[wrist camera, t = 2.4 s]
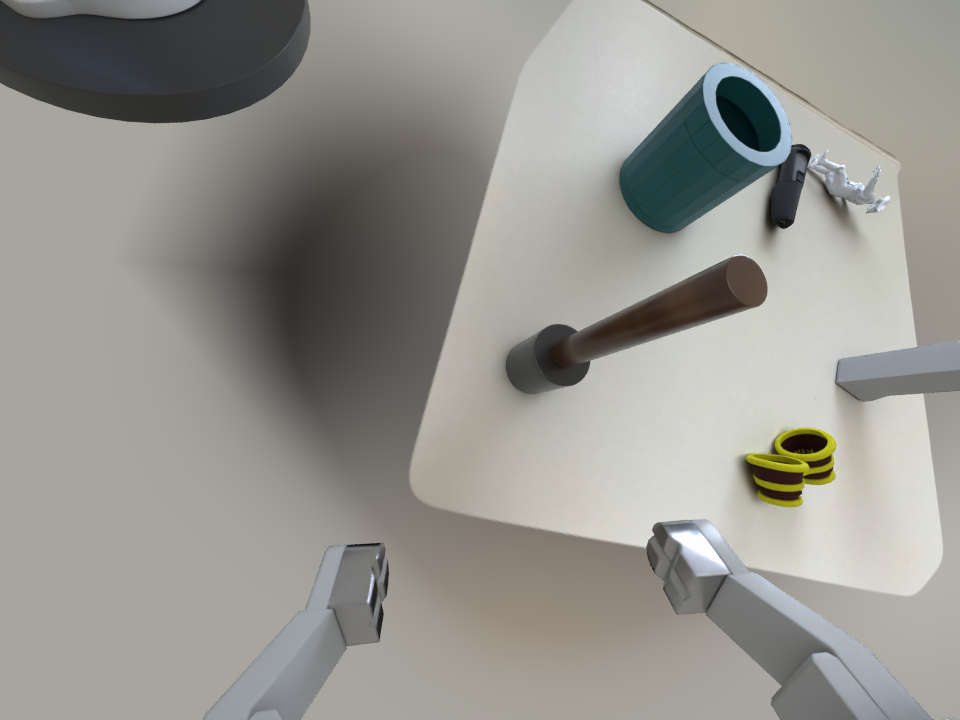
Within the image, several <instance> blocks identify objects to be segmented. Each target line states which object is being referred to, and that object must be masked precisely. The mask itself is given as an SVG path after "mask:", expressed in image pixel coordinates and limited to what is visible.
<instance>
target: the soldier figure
mask: <svg viewBox="0 0 960 720" xmlns="http://www.w3.org/2000/svg"><path fill="white" fill-rule="evenodd" d="M828 152H829V150H827V151H825V152H824V153H823V154H822V155H821V156H820V158H819V160H818V161H817V158H818V156H819V154H817V155H816V156H814V157H813V158H812V160H811V162H810V164H809V165H808V168H811V169H814V170H816V171H817V172H819V173H822V174H825V178H826V185H827V190H828V192H829V193H830V195H833V196H837V197H843V198H844V199H846V200H848V201H849V202H852V203H854V204H857V205H859V204H872V203H873V202H874V201H875V199H876V194H875V192H874V191H873V190H874V186H875V184H876V182H877V180H878V179H877V178H878V177H879V174H880V172H881V168H880V166H878V168H876V169H877V172H875V171H873V172H874V178H873V179H871V180H870V182H869V183H868V185H867V186H866V187H864V184H861V183H858V184H856V183H853V182H850V181H848V178H847V177H846V168H845V166H844V165H838V164H835V163H832V162H830V161H828V160H826V156H827V154H828ZM880 199H881V200H880ZM889 199H890V198H889V196H887V197H885V198H883V199H882V198H880V197H879V200H877V201H876V203H874V204H873V205H871V206H869V207H868V208H867V210H868V211H867V212H866V213H874V212H879V211H881V210H882V209H884V208H885V207H886V205H887V204H888V202H889Z"/></svg>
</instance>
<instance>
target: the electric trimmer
mask: <svg viewBox="0 0 960 720" xmlns="http://www.w3.org/2000/svg"><path fill="white" fill-rule="evenodd" d="M810 158H811V152H810V150H809V149H808V148H807V147H806V146H805V145H802V144H797V145H791V151H790V154H789V155H788V157H787V159H786V160H785V162H783V163H782V165H781V170H780V175H779V180H778V183H777V184H776V185H775V186H774V187H773V189H772V199H771V221H773V222H774V223H775V224H776V225H778V226H779V227H780V228H782V229H785V228H788V227H789V226H791V225H792V224H793V223H794V219H795V215H796V210H797V206H798V202H799V198H800V194H801V190H802V187H803V184H804V180H805V176H806V171H807V167H808V163H809V160H810Z"/></svg>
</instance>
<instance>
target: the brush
mask: <svg viewBox="0 0 960 720" xmlns="http://www.w3.org/2000/svg"><path fill="white" fill-rule="evenodd" d="M766 296H767V282H766V278H765V276H764V273H763V272H762V270H761V268H760V267H759V266H758V264H757V263H756V262H755V261H753V260H752V259H751V258H749V257H747V256H744V255H735V256H732V257H730V258H728V259H726V260H724V261H722V262H720V263H718V264H716V265H714V266H712V267H710V268H708V269H706V270H704V271H702V272H699V273H697V274H695V275H693V276H691V277H689V278H687V279H685V280H683V281H681V282H679V283H677V284H675V285H673V286H671V287H669V288H667V289H665V290H663V291H660V292H658V293H656V294H654V295H652V296H650V297H648V298H646V299H644V300H642V301H640V302H638V303H636V304H634V305H632V306H630V307H628V308H626V309H623V310H621V311H619V312H617V313H615V314H613V315H611V316H609V317H607V318H605V319H603V320H601V321H599V322H597V323H595V324H593V325H591V326H589V327H587V328H584V329H582V330H580V331H576V330H575V329H573V328H572V327H570V326H567V325H562V324H554V325H550V326H548V327H546V328H544V329H543V330H541V331H539V332H538V333H536V334H534V335H533V336H531V337H530V338H528V339H526V340H525V341H523V342H521V343H520V344H518V345H516V346H515V347H514V348H513V349H512V350H511V351H510V353H509V355H508V357H507V361H506V370H507V374H508V377H509V379H510V381H511V382H512V384H513V385H514V386H515V387H516V388H517V389H519V390H520V391H522V392H524V393H528V394H536V393H541V392H545V391H550V390H554V389H559V388H563V387H568V386H572V385H575V384H577V383H578V382H580V381H581V380H582V379H583V378H584V377H585V375H586V374H587V372H588V369H589V366H590V361H591V360H594V359H597V358H600V357H603V356H606V355H609V354H612V353H615V352H618V351H621V350H625V349H628V348H631V347H634V346H637V345H640V344H643V343H646V342H649V341H652V340H656V339H659V338H662V337H665V336H668V335H671V334H674V333H677V332H680V331H683V330H686V329H690V328H693V327H696V326H699V325H702V324H705V323H708V322H711V321H714V320H717V319H721V318H724V317H727V316H730V315H733V314H736V313H739V312H742V311H745V310H748V309H751V308H755V307H758V306H760V305H761V304H762V303H763V302H764V301H765V299H766Z"/></svg>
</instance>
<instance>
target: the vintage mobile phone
mask: <svg viewBox="0 0 960 720" xmlns="http://www.w3.org/2000/svg"><path fill="white" fill-rule="evenodd" d="M836 383H837V384H839V385H840V386H841V387H843V388H844V389H845V390H847V391H848V392H850V393H851V394H852V395H854V396H855V397H856V398H858V399H859V400H861V401H873V400H876V399H879V398H883V397H886V396H890V395H905V394H920V393H935V392H950V391H960V341H954V342H948V343H941V344H935V345H928V346H922V347H915V348H909V349H902V350H896V351H889V352H882V353H876V354H869V355H863V356H856V357H850V358H843V359H841V360H840V361H839V365H838V371H837V378H836Z"/></svg>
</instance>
